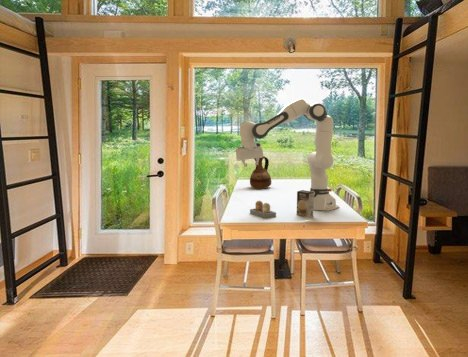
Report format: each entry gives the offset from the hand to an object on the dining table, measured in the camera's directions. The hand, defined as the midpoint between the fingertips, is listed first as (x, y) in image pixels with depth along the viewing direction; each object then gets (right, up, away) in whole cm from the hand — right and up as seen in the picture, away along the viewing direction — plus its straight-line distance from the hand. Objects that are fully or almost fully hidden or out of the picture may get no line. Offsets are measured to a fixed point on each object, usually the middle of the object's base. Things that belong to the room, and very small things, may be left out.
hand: (251, 165), depth 246 cm
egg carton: (+6, -33, -16) cm, 37 cm away
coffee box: (+33, -33, -16) cm, 49 cm away
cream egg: (+8, -32, -19) cm, 38 cm away
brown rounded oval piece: (+5, -31, -12) cm, 34 cm away
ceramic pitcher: (+13, -18, +91) cm, 94 cm away
